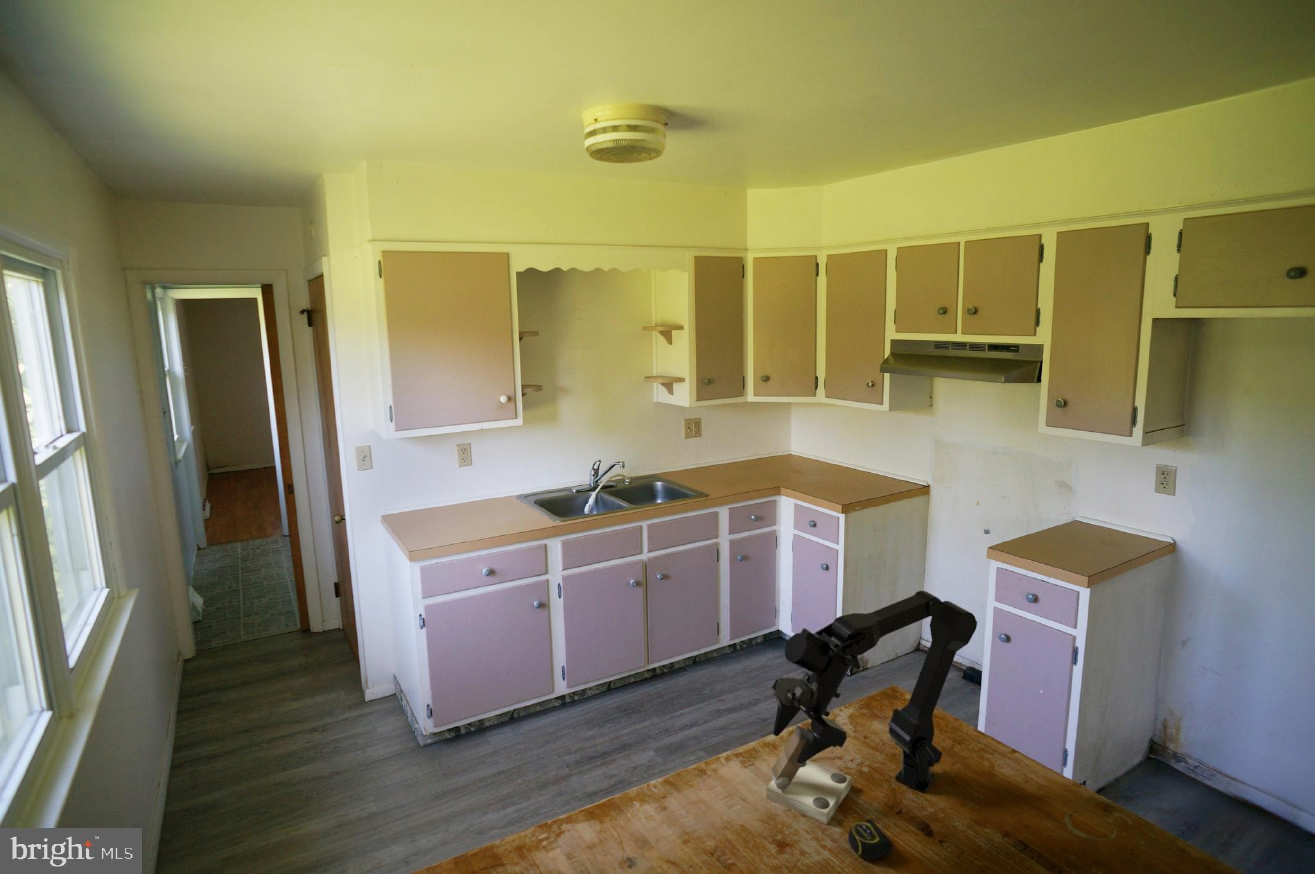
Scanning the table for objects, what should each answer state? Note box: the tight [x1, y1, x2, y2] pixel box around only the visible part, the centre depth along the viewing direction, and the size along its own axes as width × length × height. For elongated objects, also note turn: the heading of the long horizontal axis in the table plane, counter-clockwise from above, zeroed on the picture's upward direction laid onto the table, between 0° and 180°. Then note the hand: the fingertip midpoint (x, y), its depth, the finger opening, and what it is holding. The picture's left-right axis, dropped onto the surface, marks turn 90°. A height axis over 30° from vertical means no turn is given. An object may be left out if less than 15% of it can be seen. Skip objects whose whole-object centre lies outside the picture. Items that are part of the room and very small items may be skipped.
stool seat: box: [765, 759, 852, 825], centre depth 144 cm, size 13×13×3 cm
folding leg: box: [770, 725, 808, 790], centre depth 143 cm, size 3×3×12 cm
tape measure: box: [847, 818, 894, 860], centre depth 129 cm, size 7×7×4 cm
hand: (786, 748), depth 135 cm, fingers open, 9 cm apart
